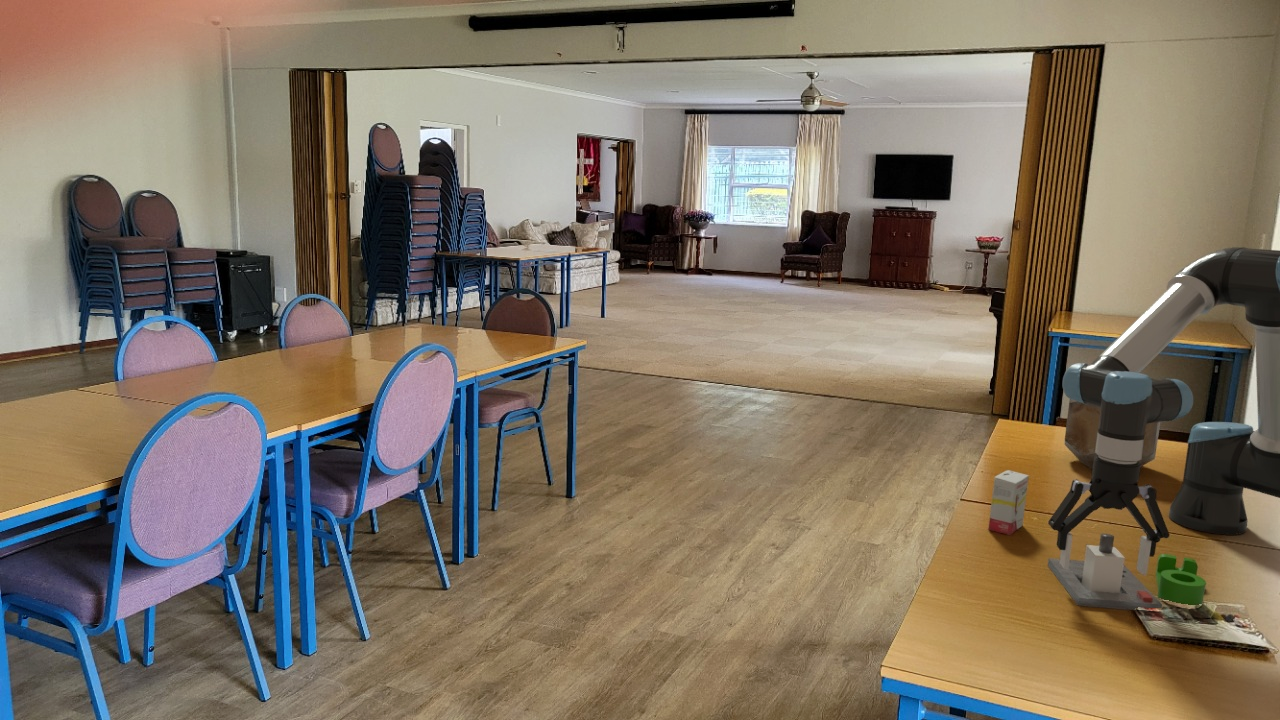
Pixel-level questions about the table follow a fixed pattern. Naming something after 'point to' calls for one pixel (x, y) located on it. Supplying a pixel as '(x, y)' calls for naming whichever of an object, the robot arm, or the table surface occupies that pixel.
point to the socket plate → (1128, 598)
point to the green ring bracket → (1179, 581)
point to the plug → (1103, 566)
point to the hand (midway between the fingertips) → (1102, 569)
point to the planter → (1085, 433)
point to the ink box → (1008, 502)
